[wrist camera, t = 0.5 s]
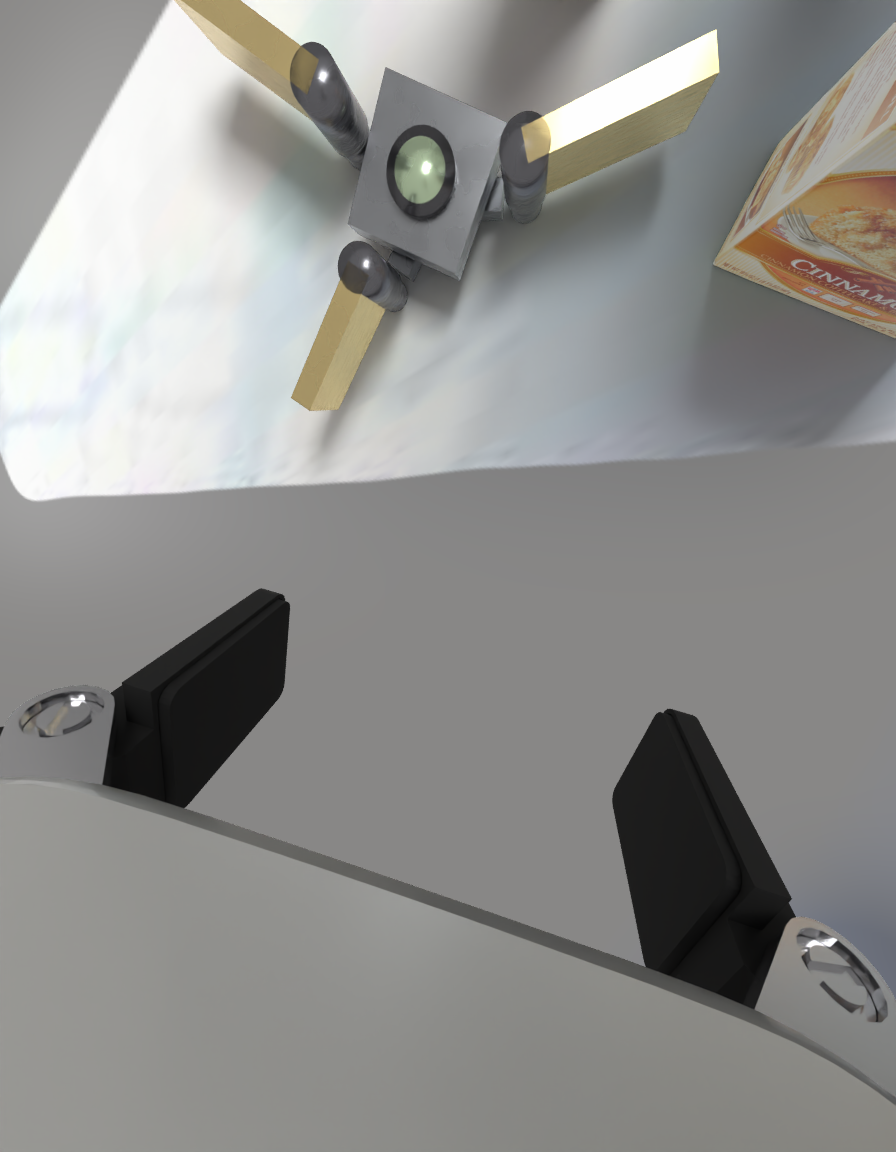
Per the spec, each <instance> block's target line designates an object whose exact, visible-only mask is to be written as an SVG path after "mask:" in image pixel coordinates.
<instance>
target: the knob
mask: <svg viewBox="0 0 896 1152" xmlns="http://www.w3.org/2000/svg"><path fill="white" fill-rule="evenodd" d="M718 73H719V60H718V46H717V32H716V30H714V31H712V32H710V33H708V34H706V35H704V36H702V37H700V38H698V39H696V40H694V41H692V42H690V43H688V44H686V45H684V46H682V47H680V48H678V49H676V50H674V51H672V52H670V53H668V54H666V55H664V56H662V57H660V58H658V59H656V60H654V61H652V62H650V63H648V64H646V65H644V66H642V67H640V68H638V69H636V70H634V71H632V72H630V73H628V74H626V75H624V76H622V77H620V78H618V79H616V80H614V81H613V82H611V83H609V84H607V85H605V86H603V87H601V88H599V89H597V90H595V91H593V92H591V93H589V94H587V95H585V96H583V97H581V98H579V99H577V100H575V101H573V102H571V103H569V104H567V105H565V106H563V107H561V108H559V109H557V110H555V111H553V112H551V113H549V114H547V115H545V116H543V117H542V116H541V115H540V114H538V113H536V112H533V111H525V112H521V113H519V114H517V115H516V116H514V117H513V118H512V119H511V120H510V121H509V122H508V124H507V125H506V127H505V128H504V130H503V132H502V135H501V139H500V144H499V155H500V163H501V171H502V179H503V187H504V194H505V199H506V202H507V204H508V206H509V208H510V209H511V213H512V215H513V217H514V219H515V220H516V221H518V222H519V223H529V222H531V221H533V220H534V219H535V218H536V217H537V216H538V214H539V213H540V210H541V207H542V202H543V200H544V198H545V196H546V194H548V193H550V192H552V191H555V190H557V189H559V188H561V187H564V186H566V185H568V184H570V183H572V182H575V181H577V180H579V179H581V178H583V177H586V176H588V175H590V174H592V173H594V172H597V171H599V170H601V169H603V168H605V167H608V166H610V165H612V164H614V163H617V162H619V161H621V160H623V159H625V158H628V157H630V156H632V155H634V154H636V153H639V152H641V151H643V150H645V149H647V148H650V147H652V146H654V145H656V144H658V143H661V142H663V141H665V140H667V139H670V138H672V137H674V136H676V135H678V134H681V133H683V132H685V131H686V130H687V128H688V126H689V124H690V123H691V121H692V119H693V117H694V115H695V114H696V112H697V110H698V108H699V107H700V105H701V103H702V101H703V100H704V98H705V96H706V94H707V93H708V91H709V89H710V87H711V86H712V84H713V82H714V80H715V78H716V77H717V75H718Z"/></svg>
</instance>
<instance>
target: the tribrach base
mask: <svg viewBox="0 0 896 1152" xmlns="http://www.w3.org/2000/svg"><path fill="white" fill-rule="evenodd" d="M506 125H507V122H505V121H503V120H500V119H498V118H496V117H494V116H492V115H489V114H487V113H485V112H483V111H481V110H479V109H476V108H474V107H472V106H470V105H468V104H465V103H463V102H461V101H459V100H457V99H454V98H452V97H450V96H448V95H446V94H443V93H441V92H439V91H437V90H435V89H432V88H430V87H428V86H426V85H424V84H421V83H419V82H417V81H415V80H413V79H411V78H408V77H406V76H404V75H402V74H400V73H397V72H395V71H393V70H391V69H389V68H385V72H384V76H383V80H382V84H381V88H380V93H379V97H378V101H377V105H376V109H375V113H374V117H373V122H372V126H371V130H370V134H369V138H368V142H367V146H366V151H365V155H364V159H363V163H362V167H361V171H360V175H359V180H358V184H357V188H356V192H355V196H354V200H353V204H352V209H351V213H350V217H349V221H348V224H349V225H350V226H351V227H352V228H353V229H354V230H355V231H356V232H357V233H358V234H359V235H361V236H363V237H365V238H367V239H370V240H372V241H374V242H376V243H378V244H380V245H383V246H385V247H387V248H389V249H391V250H393V251H392V253H391V256H390V258H389V260H388V262H389V263H390V264H391V265H392V266H393V267H394V268H395V269H396V270H398V271H399V272H401V273H402V274H403V275H405V276H406V277H407V278H409V279H410V280H412V281H413V282H414V280H415V277H416V275H417V273H418V271H419V269H420V267H421V265H422V264H424V265H426V266H428V267H431V268H433V269H435V270H437V271H439V272H442V273H444V274H446V275H448V276H450V277H452V278H455V279H457V280H459V281H460V278H461V276H462V273H463V270H464V267H465V264H466V261H467V258H468V256H469V253H470V250H471V247H472V244H473V241H474V239H475V236H476V233H477V230H478V227H479V224H480V221H482V220H502V219H503V206H504V187H503V179H502V178H496V176H497V173H498V170H499V167H500V164H501V163H500V155H499V144H500V139H501V135H502V132H503V130H504V128H505V127H506Z"/></svg>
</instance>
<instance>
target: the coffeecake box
mask: <svg viewBox="0 0 896 1152" xmlns="http://www.w3.org/2000/svg"><path fill="white" fill-rule="evenodd" d="M713 264H714V265H715V266H717V267H719V268H722V269H724V270H727V271H729V272H731V273H734V274H736V275H738V276H741V277H743V278H745V279H748V280H750V281H753V282H755V283H758V284H760V285H763V286H765V287H768V288H770V289H773V290H775V291H778V292H780V293H783V294H785V295H788V296H790V297H793V298H795V299H798V300H800V301H802V302H805V303H807V304H810V305H812V306H815V307H817V308H820V309H822V310H825V311H827V312H830V313H832V314H835V315H838V316H840V317H843V318H845V319H848V320H850V321H853V322H855V323H858V324H860V325H863V326H865V327H867V328H870V329H872V330H875V331H878V332H880V333H883V334H885V335H888V336H890V337H893V338H895V339H896V21H895V22H894V23H893V24H892V25H891V26H890V27H889V29H888V30H887V31H886V32H885V33H884V34H883V35H882V36H881V37H880V38H879V39H878V40H877V41H876V42H875V43H874V44H873V45H872V46H871V47H870V48H869V49H868V51H867V52H866V53H865V54H864V55H863V56H862V57H861V58H860V59H859V60H858V61H857V62H856V63H855V64H854V65H853V66H852V67H851V68H850V69H849V70H848V71H847V73H846V74H845V75H844V76H843V77H842V78H841V79H840V80H839V81H838V82H837V83H836V84H835V85H834V86H833V87H832V88H831V89H830V90H829V91H828V92H827V93H826V94H825V95H824V96H823V97H822V98H821V99H820V100H819V101H818V102H817V103H816V104H815V105H814V106H813V107H812V108H811V110H810V111H809V112H808V113H807V114H806V115H805V116H804V117H803V118H802V119H801V120H800V121H799V122H798V123H797V124H796V125H795V126H794V127H793V128H792V129H791V130H790V131H789V132H788V133H787V134H786V136H785V137H784V138H783V139H782V140H781V141H780V142H779V143H778V145H777V147H776V148H775V150H774V152H773V154H772V155H771V157H770V159H769V161H768V163H767V164H766V166H765V168H764V170H763V172H762V173H761V175H760V177H759V179H758V181H757V183H756V184H755V186H754V188H753V190H752V192H751V193H750V195H749V197H748V199H747V201H746V203H745V204H744V206H743V208H742V210H741V212H740V214H739V216H738V218H737V219H736V221H735V223H734V225H733V227H732V229H731V231H730V232H729V234H728V236H727V238H726V240H725V242H724V244H723V246H722V247H721V249H720V251H719V253H718V255H717V257H716V258H715V260H714V262H713Z"/></svg>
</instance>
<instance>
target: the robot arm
mask: <svg viewBox="0 0 896 1152" xmlns="http://www.w3.org/2000/svg"><path fill="white" fill-rule="evenodd" d="M289 614H290V604H289V603H288V602H286V601H285V598H284V596H283V595H282V594H279V593H276V592H272V591H269V590H266V589H258V590H257V591H255V592H254V593H252V594H251V595H249V596H248V597H246V598H245V599H243V600H242V601H240V602H239V603H238V604H236V605H235V606H233V607H232V608H230V609H229V610H227V611H226V612H224V613H223V614H221V615H220V616H219V617H217V618H216V619H214V620H213V621H211V622H210V623H208V624H207V625H206V626H204V627H202V628H201V629H200V630H198V631H197V632H195V633H194V634H192V635H191V636H189V637H188V638H186V639H185V640H183V641H182V642H180V643H179V644H178V645H176V646H175V647H173V648H172V649H170V650H169V651H167V652H166V653H165V654H163V655H162V656H160V657H159V658H157V659H156V660H154V661H153V662H151V663H150V664H148V665H147V666H146V667H144V668H143V669H141V670H140V671H138V672H137V673H135V674H134V675H132V676H131V677H129V678H128V679H126V680H125V681H124V682H122V686H120V687H119V688H117V689H116V690H114V691H113V692H111V693H110V692H109V691H107V690H105V689H102V688H100V687H96V686H88V685H80V686H68V687H64V688H59V689H54V690H51V691H49V692H46V693H43V694H40V695H38V696H36V697H34V698H32V699H30V700H28V701H26V702H25V703H23V704H22V705H21V706H20V707H18V708H17V709H16V710H15V711H14V712H13V713H12V714H11V716H10V717H9V718H8V720H7V721H6V724H5V726H4V727H0V1152H896V1000H895V998H894V996H893V994H892V992H891V990H890V989H889V987H888V986H887V984H886V983H885V981H884V980H883V978H882V977H881V975H880V974H879V972H878V971H877V970H876V969H875V968H874V967H873V966H872V965H871V963H870V962H869V961H868V960H867V959H866V957H865V956H864V955H863V954H862V953H861V952H860V951H858V950H857V949H856V948H855V947H854V946H853V945H852V944H851V943H850V942H849V941H848V940H846V939H845V938H844V937H842V936H841V935H840V934H838V933H837V932H835V931H834V930H832V929H831V928H829V927H828V926H826V925H824V924H822V923H820V922H818V921H816V920H813V919H809V918H805V917H797V918H796V916H795V914H794V913H793V910H792V909H791V907H790V905H789V901H790V900H791V899H792V898H791V896H790V894H789V892H788V891H787V889H786V887H785V885H784V883H783V881H782V879H781V877H780V875H779V873H778V872H777V870H776V868H775V866H774V864H773V862H772V860H771V858H770V856H769V854H768V853H767V850H766V849H765V847H764V845H763V843H762V841H761V839H760V837H759V835H758V833H757V831H756V829H755V827H754V826H753V824H752V822H751V820H750V818H749V816H748V814H747V812H746V810H745V808H744V806H743V804H742V803H741V801H740V799H739V797H738V795H737V793H736V791H735V789H734V787H733V786H732V783H731V782H730V780H729V778H728V776H727V774H726V772H725V770H724V768H723V766H722V764H721V762H720V761H719V759H718V757H717V755H716V753H715V751H714V749H713V747H712V745H711V743H710V741H709V739H708V738H707V736H706V734H705V732H704V730H703V728H702V726H701V724H700V722H699V720H698V719H697V718H696V717H695V716H693V715H690V714H686V713H683V712H680V711H676V710H673V709H667V710H666V711H664V713H661V712H659V713H657V714H656V715H655V717H654V718H653V720H652V722H651V724H650V726H649V727H648V729H647V731H646V733H645V735H644V736H643V738H642V740H641V742H640V744H639V745H638V747H637V749H636V751H635V753H634V755H633V756H632V758H631V760H630V762H629V764H628V765H627V767H626V769H625V771H624V772H623V775H622V776H621V778H620V780H619V782H618V783H617V785H616V787H615V789H614V792H613V798H612V802H613V809H614V814H615V819H616V824H617V829H618V834H619V839H620V844H621V849H622V854H623V858H624V864H625V869H626V874H627V879H628V884H629V889H630V894H631V899H632V904H633V908H634V914H635V918H636V923H637V929H638V934H639V939H640V943H641V949H642V954H643V959H644V963H645V966H646V967H644V966H641V965H638V964H636V963H633V962H630V961H628V960H625V959H622V958H619V957H616V956H614V955H610V954H608V953H605V952H602V951H599V950H596V949H594V948H591V947H588V946H585V945H582V944H579V943H576V942H574V941H571V940H568V939H565V938H562V937H559V936H556V935H554V934H551V933H548V932H545V931H542V930H540V929H536V928H534V927H531V926H528V925H525V924H522V923H520V922H517V921H514V920H511V919H508V918H505V917H502V916H499V915H497V914H494V913H491V912H488V911H485V910H482V909H480V908H477V907H474V906H471V905H468V904H465V903H462V902H459V901H456V900H453V899H451V898H448V897H444V896H442V895H439V894H436V893H433V892H430V891H427V890H425V889H422V888H419V887H415V886H413V885H410V884H407V883H404V882H401V881H398V880H395V879H392V878H390V877H387V876H383V875H381V874H378V873H375V872H372V871H369V870H366V869H363V868H361V867H358V866H355V865H352V864H349V863H346V862H343V861H340V860H337V859H334V858H331V857H328V856H325V855H322V854H319V853H316V852H313V851H310V850H308V849H305V848H302V847H299V846H296V845H293V844H290V843H287V842H284V841H281V840H278V839H275V838H272V837H269V836H266V835H263V834H260V833H257V832H254V831H251V830H248V829H245V828H242V827H240V826H236V825H234V824H230V823H228V822H225V821H222V820H218V819H216V818H213V817H210V816H206V815H203V814H200V813H197V812H194V811H190V810H187V809H184V808H185V807H186V806H187V805H188V804H189V803H190V802H191V801H192V800H193V798H194V797H195V796H196V795H197V794H198V793H199V791H200V790H201V789H202V788H203V787H204V785H205V784H206V783H207V782H208V781H209V780H210V778H211V777H212V776H213V775H214V774H215V773H216V771H217V770H218V769H219V768H220V767H221V766H222V764H223V763H224V762H225V761H226V760H227V758H228V757H229V756H230V755H231V754H232V753H233V752H234V750H235V749H236V748H237V747H238V746H239V744H240V743H241V742H242V741H243V740H244V739H245V737H246V736H247V735H248V734H249V732H251V730H252V729H253V728H254V727H255V726H256V725H257V723H258V722H259V721H260V720H261V719H262V718H263V716H264V715H265V714H266V713H267V712H268V710H269V709H270V708H271V707H272V706H273V705H274V703H275V702H276V701H277V700H278V699H279V697H280V695H281V693H282V691H283V688H284V682H285V669H286V655H287V642H288V628H289Z"/></svg>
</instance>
